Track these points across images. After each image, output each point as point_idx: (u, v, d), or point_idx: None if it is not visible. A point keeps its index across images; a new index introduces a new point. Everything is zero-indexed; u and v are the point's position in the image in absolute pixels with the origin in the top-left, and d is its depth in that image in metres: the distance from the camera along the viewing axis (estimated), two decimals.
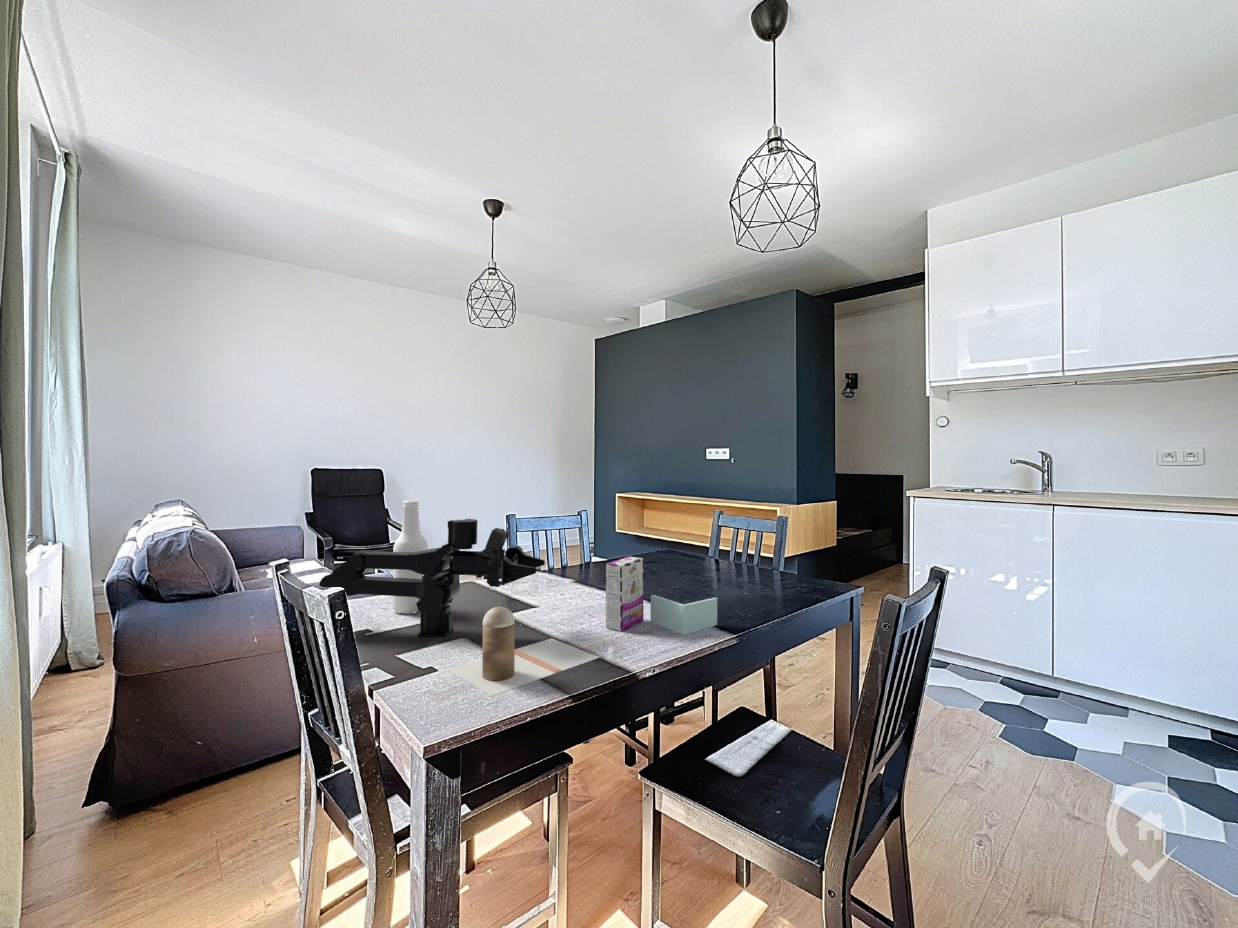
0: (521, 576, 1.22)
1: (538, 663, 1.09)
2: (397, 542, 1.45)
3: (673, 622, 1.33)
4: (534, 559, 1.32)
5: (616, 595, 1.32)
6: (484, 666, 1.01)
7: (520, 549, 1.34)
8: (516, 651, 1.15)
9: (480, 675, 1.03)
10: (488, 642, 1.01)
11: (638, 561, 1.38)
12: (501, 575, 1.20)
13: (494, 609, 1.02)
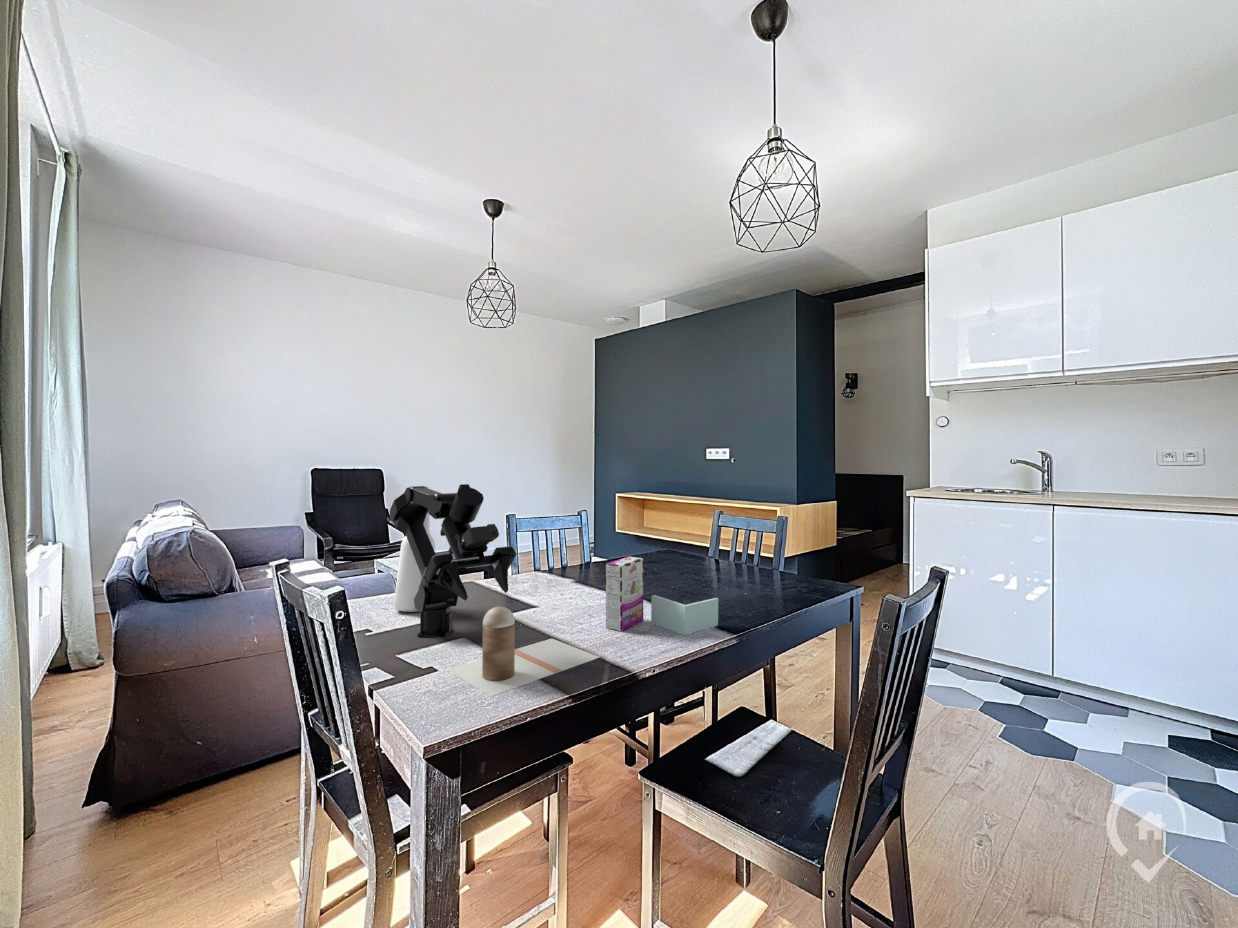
0: (454, 591, 1.09)
1: (538, 663, 1.09)
2: (406, 539, 1.46)
3: (674, 622, 1.32)
4: (503, 579, 1.15)
5: (616, 595, 1.32)
6: (484, 666, 1.01)
7: (505, 558, 1.17)
8: (516, 651, 1.15)
9: (480, 675, 1.03)
10: (488, 642, 1.01)
11: (638, 561, 1.38)
12: (437, 576, 1.09)
13: (494, 609, 1.02)
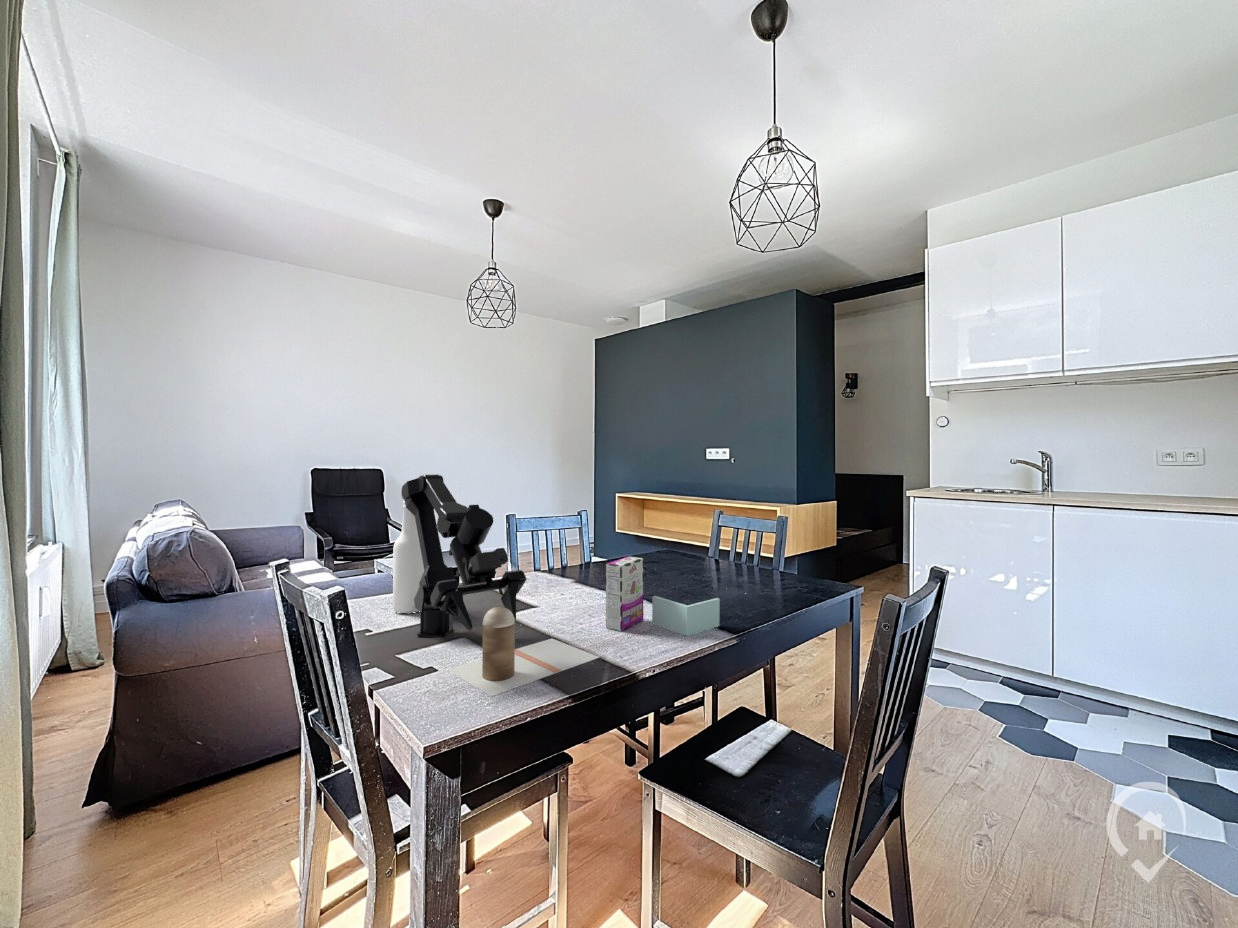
0: (458, 619, 1.04)
1: (538, 663, 1.09)
2: (397, 542, 1.45)
3: (676, 623, 1.32)
4: (511, 607, 1.09)
5: (616, 595, 1.32)
6: (484, 666, 1.01)
7: (514, 584, 1.11)
8: (516, 651, 1.15)
9: (480, 675, 1.03)
10: (488, 642, 1.01)
11: (638, 561, 1.38)
12: (442, 603, 1.04)
13: (494, 609, 1.02)
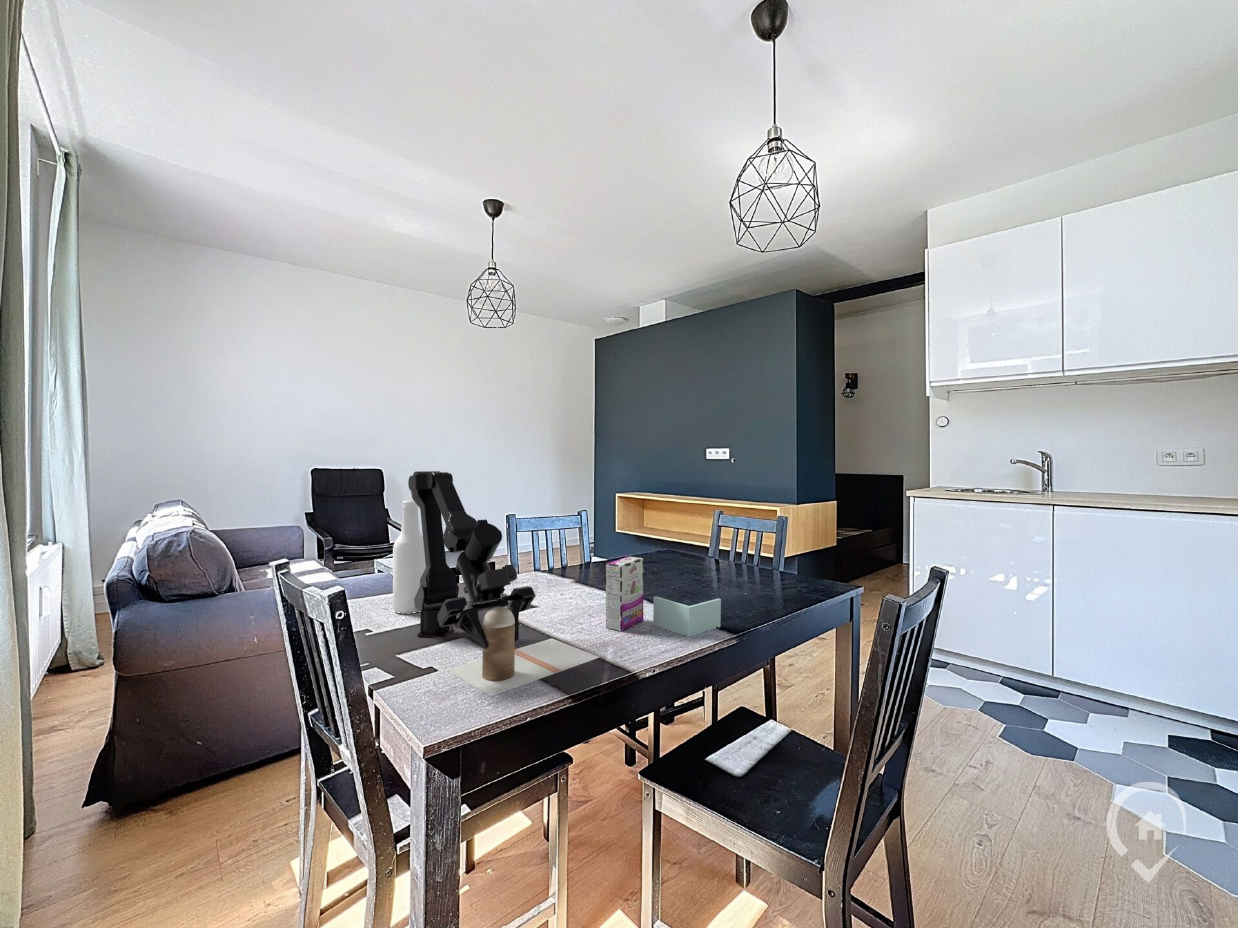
0: (474, 637, 1.02)
1: (538, 663, 1.09)
2: (397, 542, 1.45)
3: (678, 624, 1.31)
4: None
5: (616, 595, 1.32)
6: (484, 666, 1.01)
7: (517, 602, 1.07)
8: (516, 651, 1.15)
9: (480, 675, 1.03)
10: (488, 642, 1.01)
11: (638, 561, 1.38)
12: (457, 620, 1.02)
13: (494, 609, 1.02)
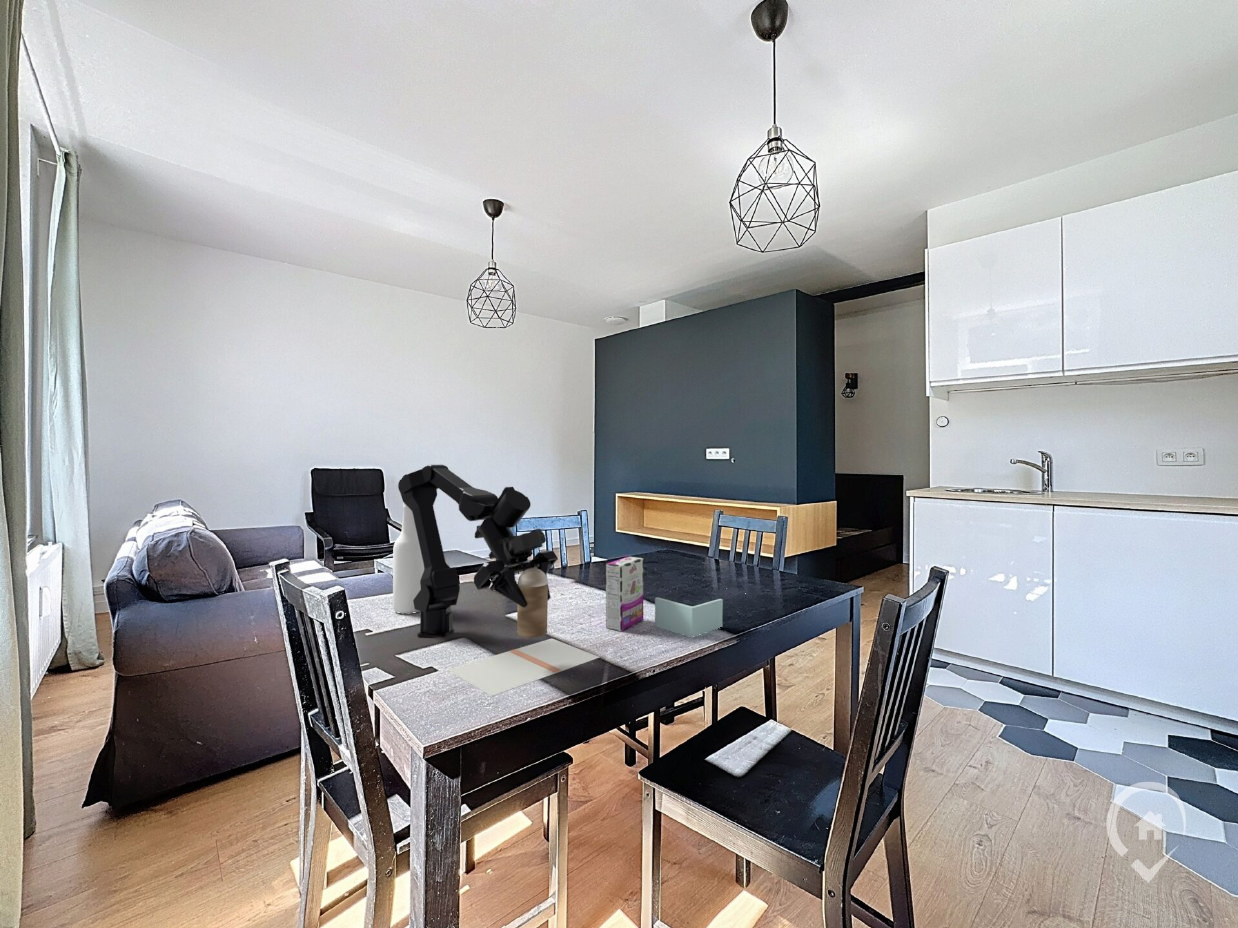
0: (510, 597, 1.06)
1: (538, 663, 1.09)
2: (397, 542, 1.45)
3: (681, 625, 1.30)
4: None
5: (616, 595, 1.32)
6: (521, 624, 1.06)
7: (545, 565, 1.13)
8: (516, 651, 1.15)
9: (480, 675, 1.03)
10: (526, 601, 1.06)
11: (638, 561, 1.38)
12: (493, 582, 1.06)
13: (529, 570, 1.08)
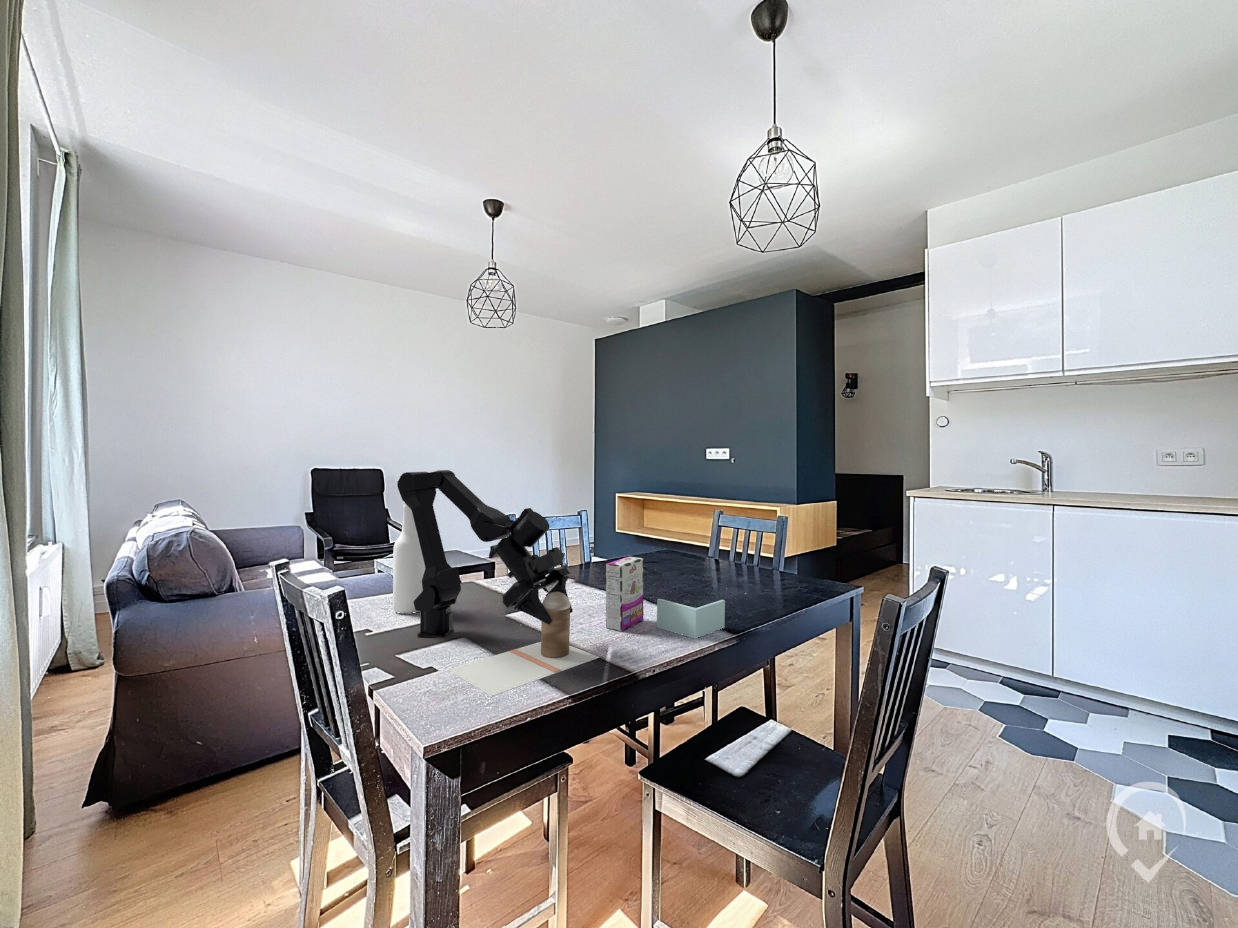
0: (535, 615, 1.11)
1: (538, 663, 1.09)
2: (397, 542, 1.45)
3: (684, 626, 1.29)
4: None
5: (616, 595, 1.32)
6: (548, 646, 1.12)
7: (564, 580, 1.21)
8: (516, 651, 1.15)
9: (480, 675, 1.03)
10: (553, 623, 1.12)
11: (638, 561, 1.38)
12: (519, 602, 1.10)
13: (554, 594, 1.14)
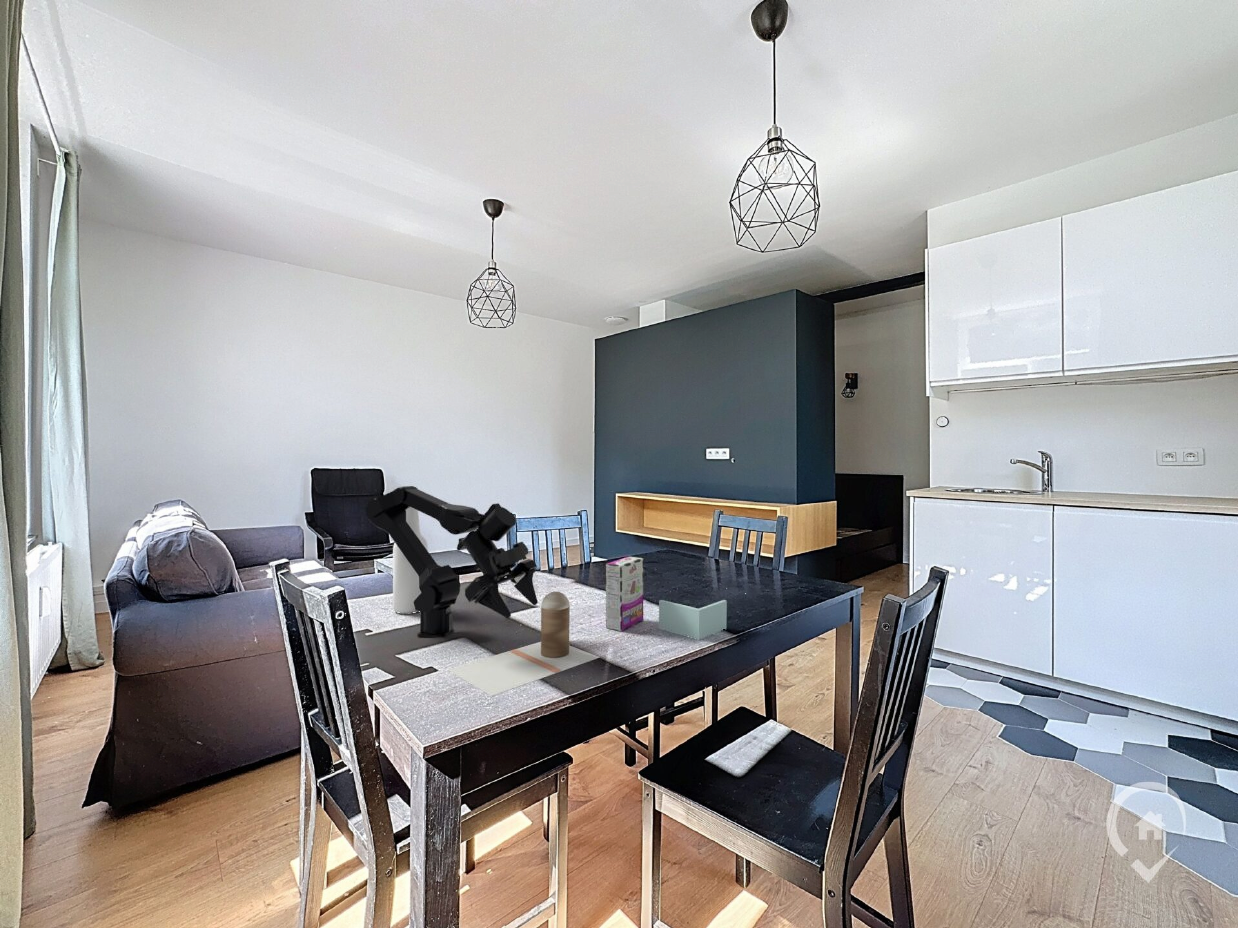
0: (495, 609, 1.15)
1: (538, 663, 1.09)
2: None
3: (687, 627, 1.29)
4: (531, 593, 1.23)
5: (616, 595, 1.32)
6: (548, 646, 1.12)
7: (531, 572, 1.25)
8: (516, 651, 1.15)
9: (480, 675, 1.03)
10: (553, 623, 1.12)
11: (638, 561, 1.38)
12: (478, 596, 1.14)
13: (553, 594, 1.14)
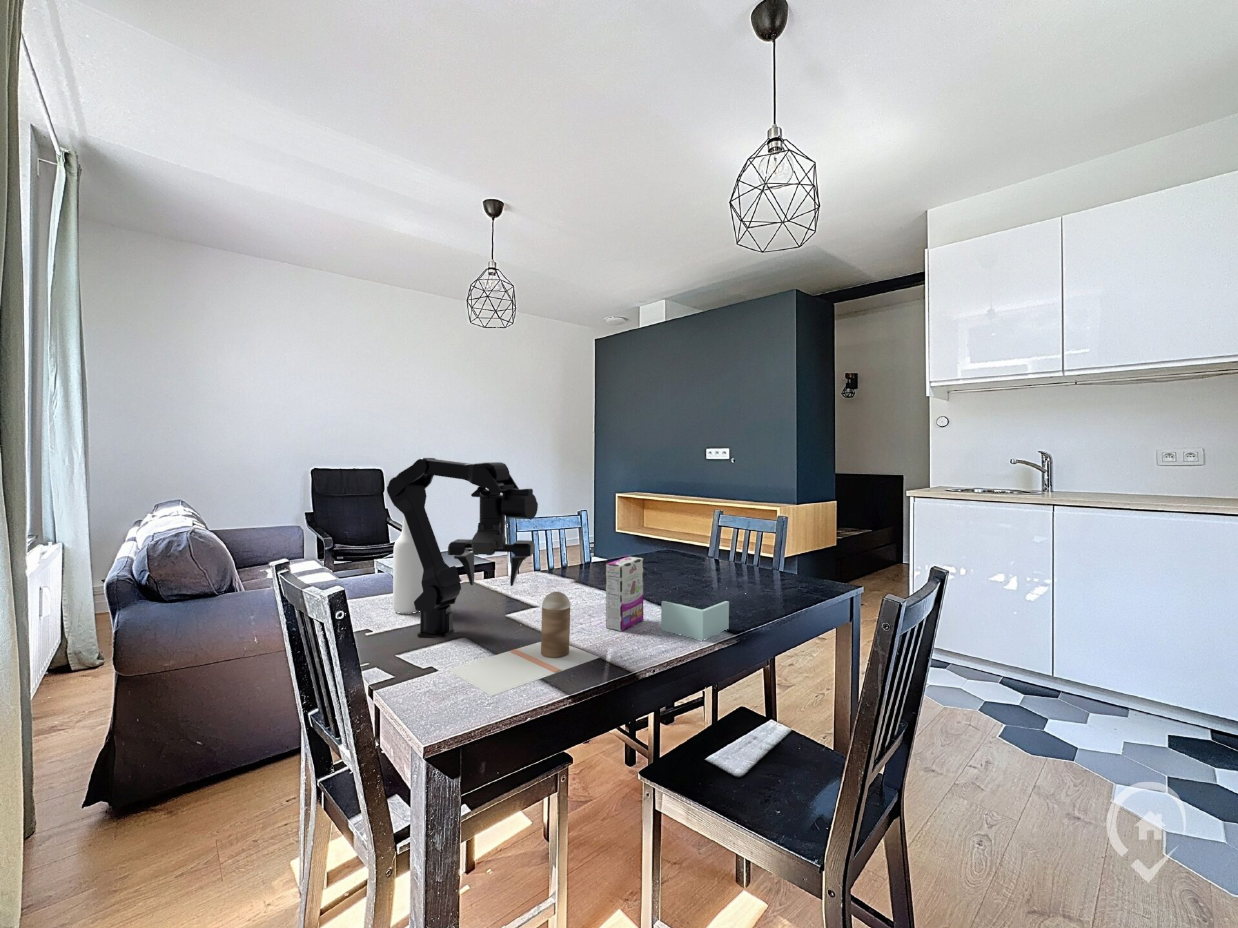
0: None
1: (538, 663, 1.09)
2: (397, 542, 1.45)
3: (690, 628, 1.28)
4: None
5: (616, 595, 1.32)
6: (548, 646, 1.12)
7: (516, 559, 1.21)
8: (516, 651, 1.15)
9: (480, 675, 1.03)
10: (553, 623, 1.12)
11: (638, 561, 1.38)
12: None
13: (554, 594, 1.14)
